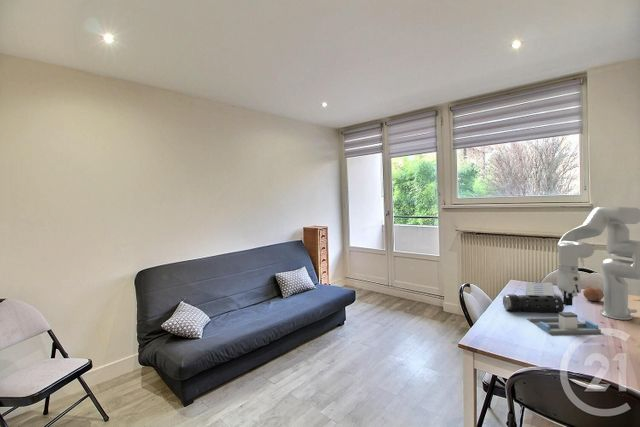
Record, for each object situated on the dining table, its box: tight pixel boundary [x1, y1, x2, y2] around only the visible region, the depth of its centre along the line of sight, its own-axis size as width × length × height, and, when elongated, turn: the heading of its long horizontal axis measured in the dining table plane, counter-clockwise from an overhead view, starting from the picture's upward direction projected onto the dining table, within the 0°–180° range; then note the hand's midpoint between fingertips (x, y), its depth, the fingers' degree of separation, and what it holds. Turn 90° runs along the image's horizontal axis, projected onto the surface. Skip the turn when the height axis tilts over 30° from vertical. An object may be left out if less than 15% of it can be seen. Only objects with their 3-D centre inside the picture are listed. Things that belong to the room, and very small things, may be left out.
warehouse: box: [525, 282, 555, 296], centre depth 198 cm, size 30×14×8 cm, turn 144°
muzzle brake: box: [502, 294, 565, 313], centre depth 175 cm, size 10×28×10 cm, turn 78°
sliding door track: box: [526, 316, 605, 337], centre depth 154 cm, size 24×20×4 cm
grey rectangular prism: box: [558, 311, 578, 329], centre depth 151 cm, size 6×4×8 cm, turn 87°
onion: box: [582, 285, 604, 303], centre depth 189 cm, size 10×9×10 cm
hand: (567, 304), depth 150 cm, fingers closed
